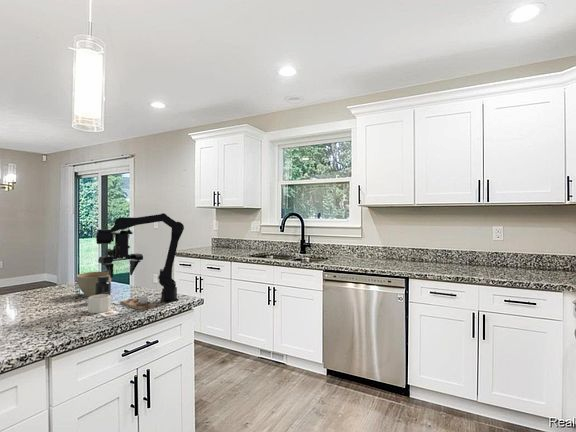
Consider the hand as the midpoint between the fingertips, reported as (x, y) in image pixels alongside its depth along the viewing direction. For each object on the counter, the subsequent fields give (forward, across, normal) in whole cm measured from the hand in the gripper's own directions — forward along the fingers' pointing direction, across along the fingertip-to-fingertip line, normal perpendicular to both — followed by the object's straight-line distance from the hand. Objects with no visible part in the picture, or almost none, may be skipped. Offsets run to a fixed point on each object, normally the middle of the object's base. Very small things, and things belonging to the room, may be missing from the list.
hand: (121, 276), depth 156 cm
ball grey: (+10, -4, +12) cm, 16 cm away
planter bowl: (+13, 0, -28) cm, 31 cm away
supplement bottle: (+13, +3, -12) cm, 18 cm away
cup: (+13, +11, +3) cm, 17 cm away
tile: (+13, +11, +12) cm, 21 cm away
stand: (+13, -4, +8) cm, 16 cm away
